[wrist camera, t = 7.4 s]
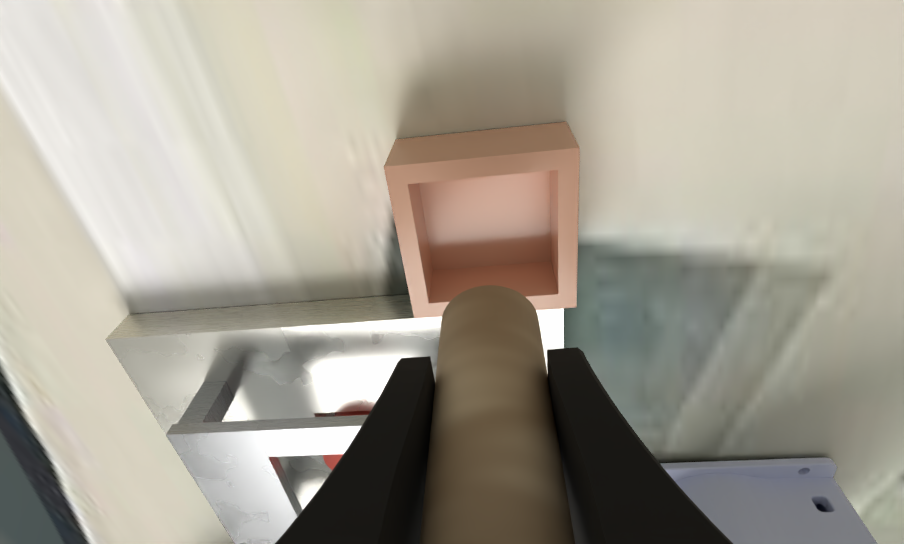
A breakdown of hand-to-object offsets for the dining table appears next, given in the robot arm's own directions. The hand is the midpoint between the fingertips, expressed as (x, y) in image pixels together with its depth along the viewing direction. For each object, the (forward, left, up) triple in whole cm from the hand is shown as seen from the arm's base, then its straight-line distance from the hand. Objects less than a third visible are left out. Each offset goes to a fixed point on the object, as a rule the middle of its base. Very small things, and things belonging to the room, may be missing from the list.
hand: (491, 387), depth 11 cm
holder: (0, 0, -9) cm, 9 cm away
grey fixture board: (+6, +10, -9) cm, 15 cm away
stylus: (0, 0, -2) cm, 2 cm away
